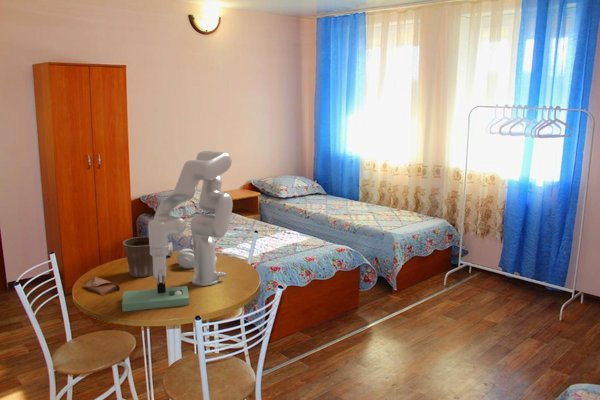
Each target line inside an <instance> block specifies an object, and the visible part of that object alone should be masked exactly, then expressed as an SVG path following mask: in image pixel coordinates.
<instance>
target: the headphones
mask: <svg viewBox="0 0 600 400" xmlns="http://www.w3.org/2000/svg"><path fill="white" fill-rule="evenodd" d="M176 259H177V264H178V265H179V266H180V268H183V269H192V268H194V249H191V248H183V249H181V250H179V251H178V253H177V255H176ZM217 262H218V257H217V255H215V266H216V264H217Z"/></svg>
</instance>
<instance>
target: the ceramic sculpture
mask: <svg viewBox="0 0 600 400" xmlns="http://www.w3.org/2000/svg"><path fill="white" fill-rule="evenodd" d="M168 245H169V254H167V255H166V257H172V256H173V254H174V249H173V247H174V246H173V242H172V241H170V242H168Z"/></svg>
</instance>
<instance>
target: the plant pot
mask: <svg viewBox="0 0 600 400" xmlns="http://www.w3.org/2000/svg"><path fill="white" fill-rule="evenodd" d="M122 245H123V246H124V251H125V253H126V259H127V267H128V274H129V275H130V276H131V277H133V278H145V277H147V276H148V277H150V276H154V275H153V256H152V255H150V246H149V236H136V237H130V238H127V239H125V240H124V241H123V242H122Z"/></svg>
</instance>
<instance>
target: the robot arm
mask: <svg viewBox="0 0 600 400" xmlns="http://www.w3.org/2000/svg"><path fill="white" fill-rule="evenodd" d="M196 155H197V156H196V159H189V160H187V161H185V163H184V164H183V167H182V168H181V171H180V174H179V177H178V179H177V182H176V184H175V187H174V189H173V190H172V192H171V193H169V194H168V195H167V196H166V197H164V199H163V200H162V201H161V202H160V203H159V205H158V206H157V209H156V211H155V213H154V216H153V220H150V221H148V225H147V227H148V228H147V229H148V237H149V246H150V255H152V256H153V275H152V276H153V279H154V280H157V283H156V284H157V285H156V287H157V288H156V289H157V290H158V293H165V292H166V289H165V288H166V281H165V279H166V277H167V256H166V255H167V254H169V245H168V243H169V237H171V236H179V235H182V234H183V233H184V232H185V230H186V228H187V223H186V221H185V220H184V218H182V217H178V216H173V215H170V214H171V212H173V210H174V209H175V208H176V207H178V206H179V205H181V204H183V203H186V202H189V201H190V200H192V199H193V198H194V196H195V193H196V191H197V188H198V185H199V183H200V181H202V186H201V191H200V195H199V199H198V207H199V209H200V210H202V211H204V212H208V213H214V215H212V214H206V213H198V214H196V215H194V216H193V217H191V220H190V224H189V225H190V226H189V227H190V231H191V235H192V236H191V237H192V241H193V251H194V267H193V268H194V276H193V278H191V280H190V281H191V284H192V285H195V286H199V287H200V286H201V287H207V286H213V285H216V284H218V283H220V278H226V277H227V273H226V272H223V271H217V268H216V265H215V256H216V243H215V239H214V238H216V239H221V238H223V237H225V235H226V234H227V232H228V230H229V226H230V225H229V224H230V220H231V217H232V211H233V206H234V204H233V198H232V196H231V195H230V194H229V193H226V192H222V185H223V179H222V176H221V175H223V174H225V173H226V172H228V170H230V168H231V166H232V156H231V155H230V154H229V153H227V152H224V151H212V150H211V151H210V150H203V151H200V152H198V153H197V154H196Z"/></svg>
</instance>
